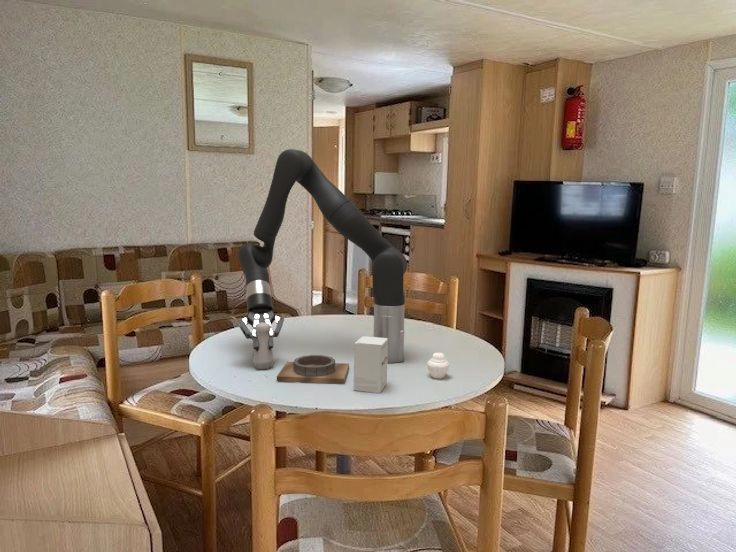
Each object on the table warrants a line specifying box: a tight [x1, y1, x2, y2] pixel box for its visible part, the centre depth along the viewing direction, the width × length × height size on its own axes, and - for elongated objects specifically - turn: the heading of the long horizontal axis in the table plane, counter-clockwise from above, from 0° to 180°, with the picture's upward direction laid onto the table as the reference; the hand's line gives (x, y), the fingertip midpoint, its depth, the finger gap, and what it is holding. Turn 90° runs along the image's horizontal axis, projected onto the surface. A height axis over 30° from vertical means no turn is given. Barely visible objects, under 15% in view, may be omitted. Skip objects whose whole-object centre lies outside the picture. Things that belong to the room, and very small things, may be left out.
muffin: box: [426, 352, 450, 379], centre depth 147 cm, size 6×6×7 cm
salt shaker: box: [252, 322, 275, 370], centre depth 152 cm, size 6×6×13 cm
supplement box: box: [353, 335, 388, 394], centre depth 137 cm, size 7×7×13 cm
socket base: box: [276, 354, 350, 385], centre depth 147 cm, size 18×13×4 cm
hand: (263, 349), depth 150 cm, fingers closed on salt shaker, 3 cm apart
